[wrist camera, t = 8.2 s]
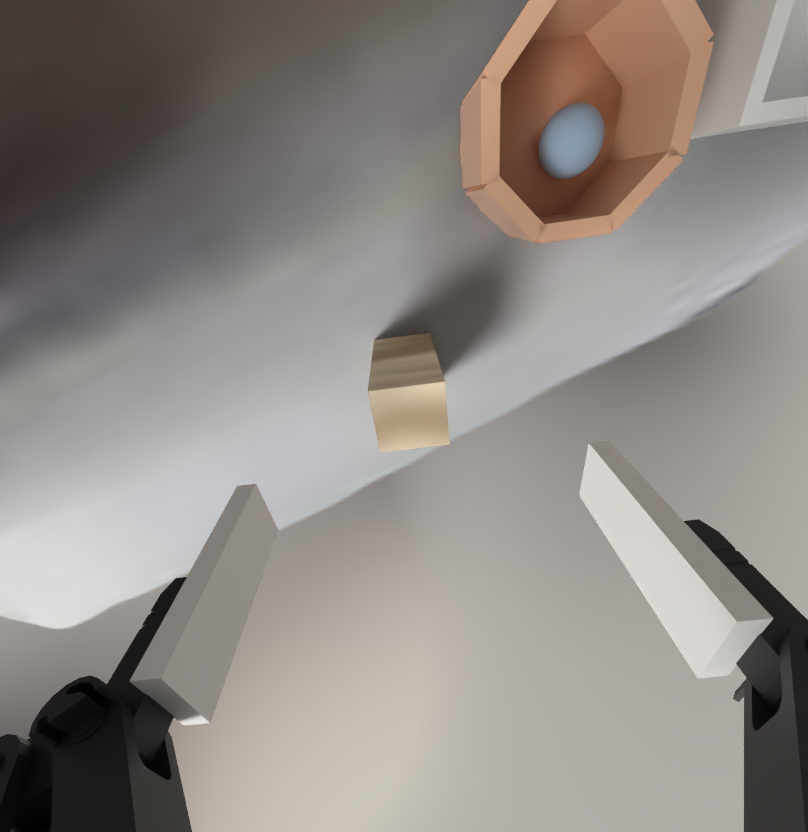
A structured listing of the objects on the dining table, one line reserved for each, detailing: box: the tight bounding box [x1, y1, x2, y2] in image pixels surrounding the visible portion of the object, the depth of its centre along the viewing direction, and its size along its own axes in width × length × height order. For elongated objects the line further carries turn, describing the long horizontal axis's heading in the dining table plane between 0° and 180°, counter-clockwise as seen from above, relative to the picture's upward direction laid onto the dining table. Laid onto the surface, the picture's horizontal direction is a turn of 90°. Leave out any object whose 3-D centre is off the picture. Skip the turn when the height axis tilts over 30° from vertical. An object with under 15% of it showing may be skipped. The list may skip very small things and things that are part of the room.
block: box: [368, 332, 449, 452], centre depth 22 cm, size 4×4×8 cm
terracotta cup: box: [459, 0, 714, 244], centre depth 17 cm, size 9×9×6 cm
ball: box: [538, 103, 605, 179], centre depth 17 cm, size 3×3×3 cm
